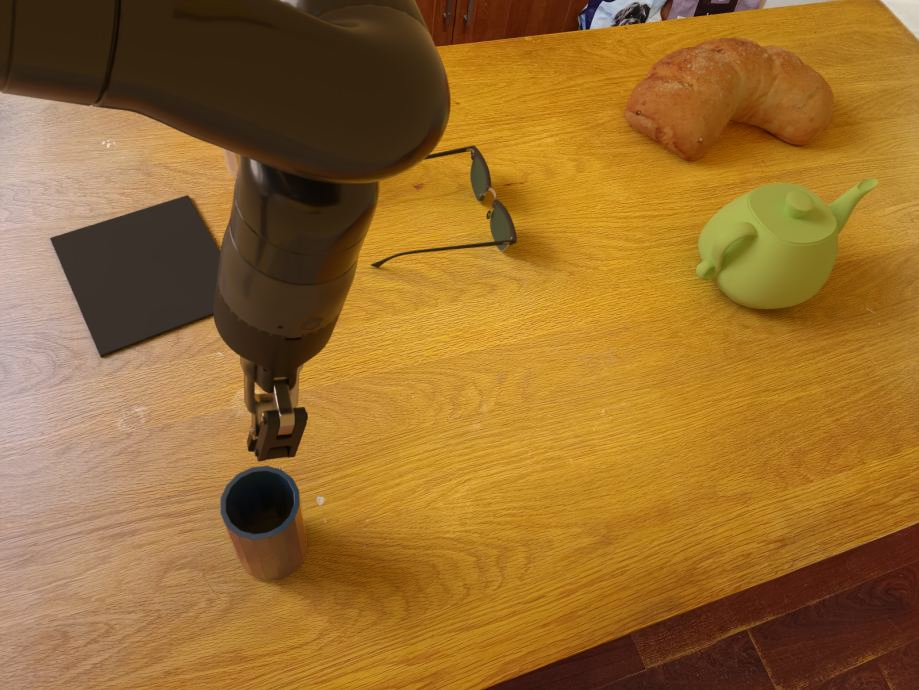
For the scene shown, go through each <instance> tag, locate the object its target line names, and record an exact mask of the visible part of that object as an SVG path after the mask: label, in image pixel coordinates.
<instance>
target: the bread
mask: <svg viewBox="0 0 919 690" xmlns="http://www.w3.org/2000/svg"><path fill="white" fill-rule="evenodd" d="M834 97H835V95H834V93H833V91H832V88H831V86H830V84H829V82H828V81H827V80H826V79H825V78H824V76H823V75H822V74H820V73H819V72H818V71H817V70H815V69H814V68H812V67H811V66H810V64H805V63H804V62H803V60H802V59H801V58H800V57H799V56H798V55H796V54H795V53H794V52H793V51H790V50H788V49H786V48H784V47H781V46H775V45H774V46H773V45H767V46H761V45H760V44H759V43H758V42H756V41H753V40H751V39H748V38H742V37H740V36H739V37H716V38H712V39H707V40H703V41H700V42H698V43H696V44H695V45H694V46H688V47H687V46H686V47H683V48H679V49H676V50H674V51H671V52H670V53H668V54H667V55H665V56H663V57H662V58H660V59H659V60H658V61H656V62H655V63H654V64H653V65H652V66H651V67H650V69H649V70H648V71H647V73H646V75H645V77H644V78H643V79H642V80H640V81H639V82H637V84H636V85H635V86H634V87H633V88H632V91H631V92H630V95H629V97H628V100H627V102H626V105H625V108H624V118H625V120H626V121H627V123H628V124H629V126H630V127H631V128H633V129H634V130H636V131H638V132H640V133H642V134H645V135H646V136H647V137H649V138H651V139H652V140H653V141H656V142H658V143H659V144H661V145H662V146H664V147H665V148H666V149H668V150H669V151H670V152H671V153H673V154H675V155H678V156H679V157H680V158H681V159H682V160H683V161H686V162H697V161H699V160H700V159H702V158H703V157H704V156H705V155H706V153H707V152H708V151H709V150H710V149H711V148H712V147H713V146H714V144H715V143H716V142H717V141H718V140H719V138H720V137H721V135H723V132H724V131H725V129H726V127H727V125H728V124H729V122H730V121H734V122H738V123H742V124H747V125H751V126H753V127H756V128H757V129H759V130H763V131H764V132H765V133H767V134H768V135H770V136H772V137H774V138H776V139H778V140H780V141H782V142H784V143H786V144H788V145H792V146H796V147H800V146H801V147H803V146H805V145H807V144H808V145H809V144H811V142H813V141H814V140H815V139H816V138H817V137H818V136H819V135H820V134H821V133H822V132H824V131H825V130H826V129H828V127H829V126H830V124H831V123H832V120H833V118H834V109H833V106H834V99H835V98H834Z"/></svg>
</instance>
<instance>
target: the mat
mask: <svg viewBox="0 0 919 690" xmlns="http://www.w3.org/2000/svg"><path fill="white" fill-rule="evenodd" d="M210 232H211V231H209V229H208V227H207V225H206V224H205V222H204V220H203V218H202V217H201V215H200V213H199V211H198V209H197V208H196V206H195V205H194V202H193V201H192V199H191V197H190V195H189V194H185V195H183V196H180V197H176V198H173V199H171V200H170V199H169V200H167V201H164V202H160V203H158V204H154V205H151V206H148V207H144V208H141V209H138V210H135V211H132V212H129V213H126V214H122V215H119V216H116V217H113V218H110V219H107V220H102V221H100V222H97V223H93V224H90V225H87V226H83V227H81V228H77V229H74V230H71V231H67V232H64V233H61V234H58V235H55V236H50V238H49V240H50V242H51V244H52V247H53V249H54V251H55V254H56V257H57V258H58V261H59V263H60V266H61V268H62V270H63V272H64V275H65V277H66V280H67V282H68V284H69V287H70V289H71V291H72V293H73V296H74V298H75V301H76V303H77V305H78V309H79V310H80V312H81V315H82V317H83V320H84V322H85V324H86V327H87V329H88V331H89V334H90V336H91V339H92V340H93V343H94V346H95V348H96V350H97V352H98V355H99V357H100V358H103V357H107V356H110V355H111V354H112V355H113V354H114V353H117V352H119V351H122V350H125V349H128V348H131V347H132V346H136V345H138V344H140V343H143V342H145V341H146V342H147V341H148V340H151V339H154V338H156V337H159V336H162V335H164V334H166V333H170V332H172V331H175V330H177V329H180V328H182V327H186V326H188V325H191V324H193V323H196V322H199V321H201V320H203V319H206V318H209V317H211V316H213V306H214V298H215V290H216V282H217V275H218V267H219V259H220V251H221V249H219V246H218V245H217V243H216V241H215V239H214V238H213V236H212V234H211V233H210Z"/></svg>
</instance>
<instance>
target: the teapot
mask: <svg viewBox="0 0 919 690" xmlns="http://www.w3.org/2000/svg"><path fill="white" fill-rule="evenodd" d="M878 184H879V180H878V179H876V178H874V177H870V178H865V179H863V180H861V181H859V182H857V183H856V184H855V185H853V186H852V187H851V188H849V189H848V190H847V191H845V192H844V193H842V194H841V195H840V196H839V197H838V198H836V199H835V200H834V201H832V202H831V203H829V204H826V203H825V202H824V201H823V200H822V199H821V197H819V196H818V195H817V194H816V193H815V192H814V191H812V190H810V189H809V188H808V187H805V186H803V185H801V184H797V183H793V182H773V183H767V184H764V185H761V186H759V187H756V188H753V189H752V190H749V191H748V192H745V193H743V194H741V195H739V196H738V197H736V198H735V199H732V200H731V201H730V202H728V203H726V205H724V206H723V207H722V208H720V209H719V210H718V211H717V212H716V213H715V214H713V216H712V217H711V218H710V219H709V220H708V222H707V223H706V224H705V225H704V226H703V228H702V230H701V231H700V233H699V236H698V240H697V250H698V254H699V257H700V260H701V262H700V263H699V264H697V266H696V268H695V274H696V277H698V279H700V280H702V281H711V280H712V282H713V283H714V284H715V286H716V287H717V288H718V289H719V290H720V291H721V292H722V293H723V295H725V296H726V297H727V298H728V299H730V300H731V301H732V302H734V303H736V304H738V305H740V306H743V307H745V308H748V309H749V308H750V309H754V310H755V309H756V310H777V309H779V310H780V309H785V308H790V307H794V306H797V305H800V304H803V303H805V302H806V301H808V300H810V299H811V298H813V297H814V296H816V295H817V294H818V292H819V291H820V290H821V289H822V288H823V286H824V285H825V284H826V282H827V281H828V278H829V277H830V275H831V273H832V271H833V268H834V266H835V263H836V259H837V254H838V246H839V245H838V244H839V235H840V233H842V231H843V229H844V228H845V226H846V224H847V222H848V221H849V219H850V217H851V215H852V213H853V212H854V210H855V208H856V206H857V205H858V204H859V202H860V201H861V200H862V199H863V198H864V197H865V196H866V195H867V194H869V193H870V192H871V191H873V190H874V189H875V188H876V187H877V185H878Z"/></svg>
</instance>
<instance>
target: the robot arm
mask: <svg viewBox="0 0 919 690" xmlns="http://www.w3.org/2000/svg"><path fill="white" fill-rule="evenodd" d="M0 93H2V94H4V95H12V96H19V97H25V98H31V99H37V100H38V99H39V100H45V101H52V102H57V103H65V104H72V105H78V106H86V107H90V106H92V107H94V108H100V109H101V108H102V109H108V110H116V111H124V112H130V113H134V114H138V115H141V116H144V117H145V118H148V119H151V120H154V121H155V122H158V123H160V124H163V125H165V126H167V127H168V128H169V127H170V128H171V129H174V130H176V131H178V132H180V133H183V134H185V135H187V136H189V137H192V138H194V139H197V140H199V141H202V142H205V143H207V144H210V145H213V146H215V147H217V148H220V149H222V148H223V149H226V150H228V151H231V152H233V153H236V154H239V155H240V162H239V167H238V170H237V175H236V179H235V181H234V186H233V187H234V188H233V194H232V200H231V201H232V202H231V207H230V215H229V216H230V217H229V220H228V223H227V226H226V228H225V231H224V234H223V236H222V240H221V245H220V259H219V267H218V275H217V282H216V290H215V298H214V306H213V315H212V316H213V321H214V325H215V328H216V330H217V333H218V335H219V336H220V338H221V339H222V341H223V342H224V343H225V345H227V347H228V348H229V349H230V350H231V351H233V352H234V353H235V354H236V355H238V356H239V365H240V367H241V371H242V372H243V401H244V404H245V408H246V410H247V411H248V413H250V414H251V417H250V418H251V421H250V423H251V426H250V428H249V431H248V436H247V439H246V445H247V451H248V452H250V453H254V457H256V459H257V462H259V463H260V462H266V461H268V460H276V459H284V458H287V459H289V458H295V457H296V456H297V452H298V449H299V447H300V444H301V441H302V438H303V435H304V433H305V431H306V427H307V425H308V424H307V423H308V420H309V414H308V412H307V410H306V407H305V406H298V405H299V391H300V389H299V388H300V372H301V371H302V370H303V368H304V364H306V363H307V362H308V361H311V359H314V358H315V357H316V356H317V355H318V354H320V353H321V352H322V351H323V350H324V349H325V347H326V346H327V344H328V343H329V342H330V340H331V338H332V335H333V333H334V330H335V328H336V326H337V323H338V320H339V318H340V316H341V313H342V310H343V308H344V305H345V303H346V301H347V298H348V295H349V293H350V290H351V288H352V285H353V283H354V280H355V277H356V272H357V267H358V261H359V255H360V253H361V250H362V248H363V245H364V242H365V240H366V237H367V234H368V232H369V229H370V227H371V225H372V222H373V220H374V217H375V214H376V211H377V206H378V202H379V197H380V182H382V181H386V180H389V179H393V178H394V177H397V176H399V175H401V174H404V173H406V172H408V171H410V170H412V169H413V168H415V167H417V166H418V165H419V164H421V163H422V162H423V161H425V160H424V159H425V158H426V157H427V156H428V155H430V154H432V153H433V151H434V150H435V149H436V148H437V146H438V145H439V143H440V142H441V140H442V138H443V137H444V134H445V132H446V130H447V127H448V125H449V121H450V115H451V110H452V109H451V108H452V97H451V96H452V95H451V88H450V83H449V78H448V74H447V71H446V68H445V65H444V63H443V60H442V58H441V56H440V53H439V50H438V49H437V46H436V44H435V41H434V39H433V38H432V35H431V33H430V30H429V28H428V26H427V24H426V21H425V19H424V17H423V14H422V13H421V11H420V8H419V6H418V3H417V1H416V0H0ZM256 385H257V386H258V387H259V388H260V389H261V390H262V391H263V392H264V393H256Z"/></svg>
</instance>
